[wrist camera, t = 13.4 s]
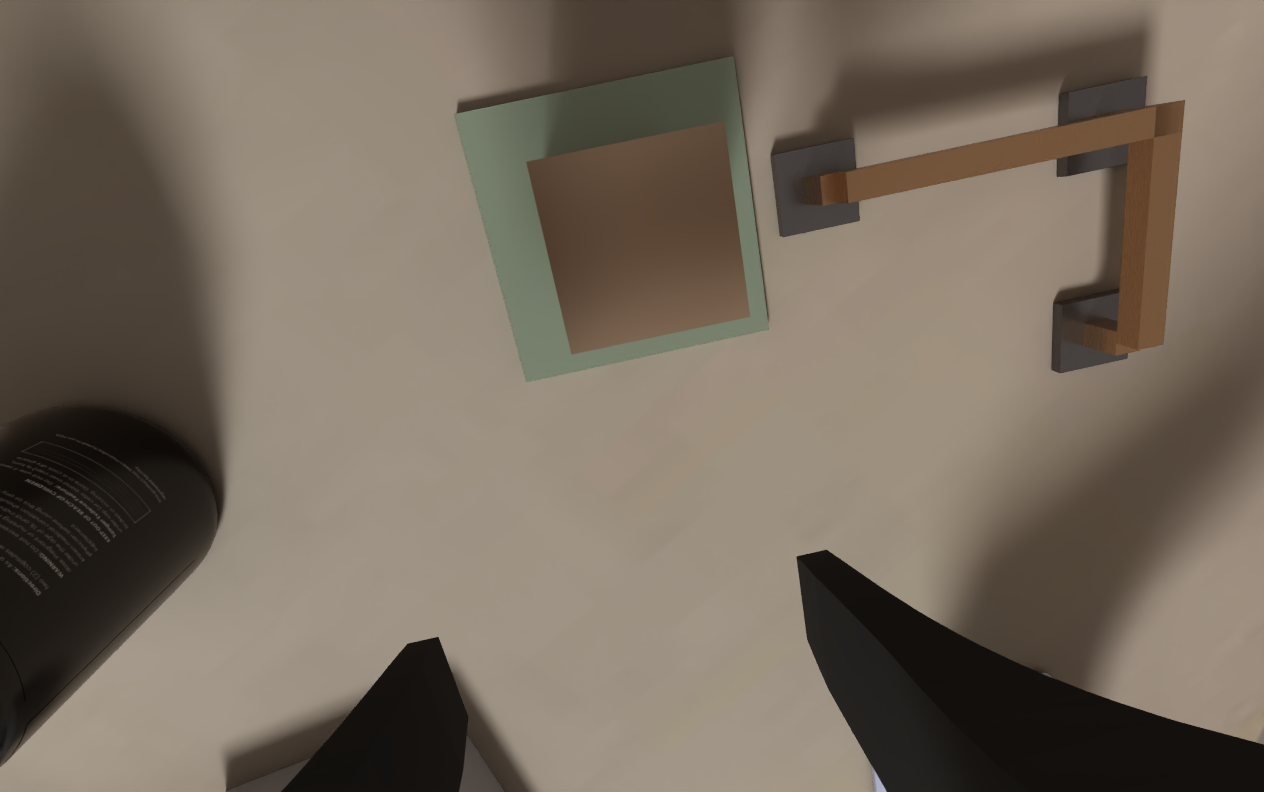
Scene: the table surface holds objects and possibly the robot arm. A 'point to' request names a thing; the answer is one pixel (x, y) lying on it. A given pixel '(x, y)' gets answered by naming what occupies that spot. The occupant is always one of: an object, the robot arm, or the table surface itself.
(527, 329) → the mat
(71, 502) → the supplement bottle
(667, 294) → the block
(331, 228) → the table surface
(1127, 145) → the brown angled rail
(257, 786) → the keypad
